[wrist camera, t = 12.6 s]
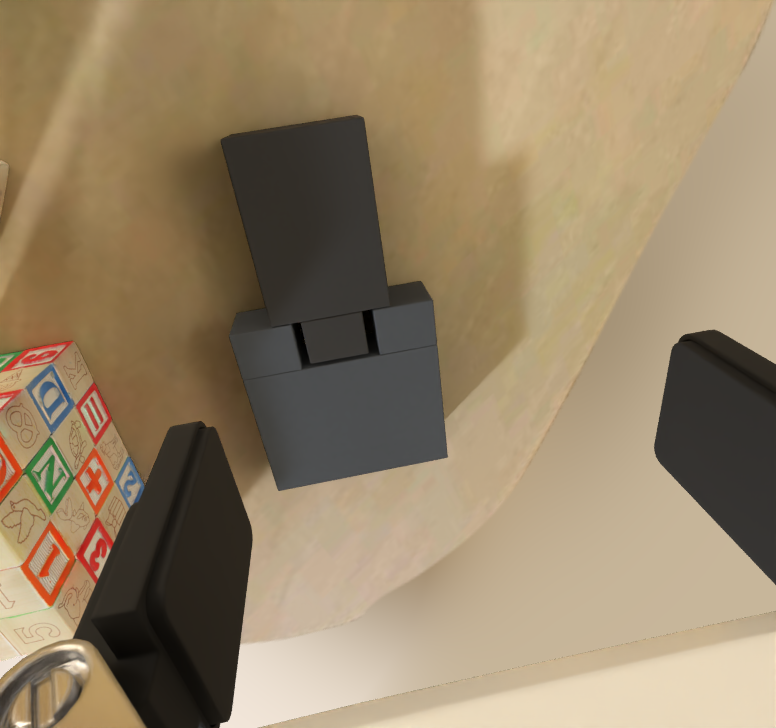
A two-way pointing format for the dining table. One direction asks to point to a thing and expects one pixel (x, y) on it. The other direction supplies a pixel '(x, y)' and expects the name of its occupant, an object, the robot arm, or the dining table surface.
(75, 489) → the stack of blocks
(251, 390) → the grey block
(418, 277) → the dining table surface
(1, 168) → the box
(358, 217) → the black tabbed block
